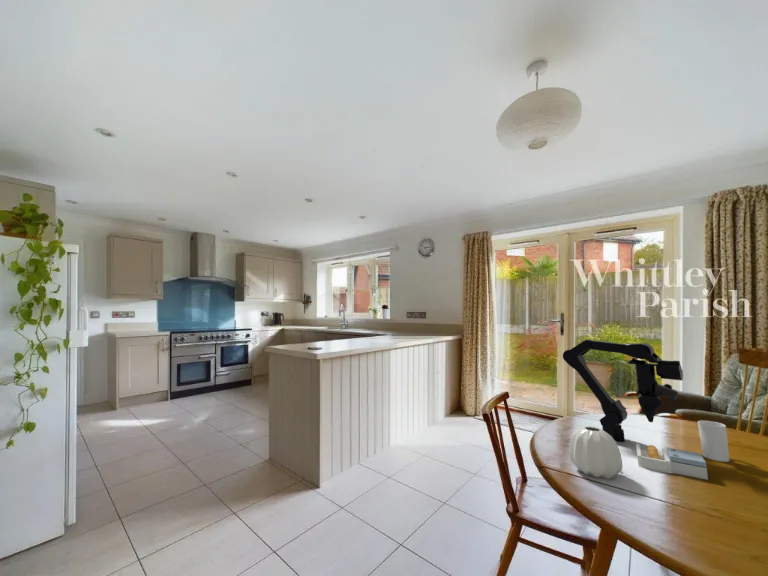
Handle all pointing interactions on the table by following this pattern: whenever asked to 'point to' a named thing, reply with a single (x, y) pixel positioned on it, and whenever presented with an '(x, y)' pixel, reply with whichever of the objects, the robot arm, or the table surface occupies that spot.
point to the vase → (595, 452)
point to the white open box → (669, 464)
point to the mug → (713, 440)
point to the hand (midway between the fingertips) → (649, 419)
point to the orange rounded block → (652, 452)
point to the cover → (686, 457)
